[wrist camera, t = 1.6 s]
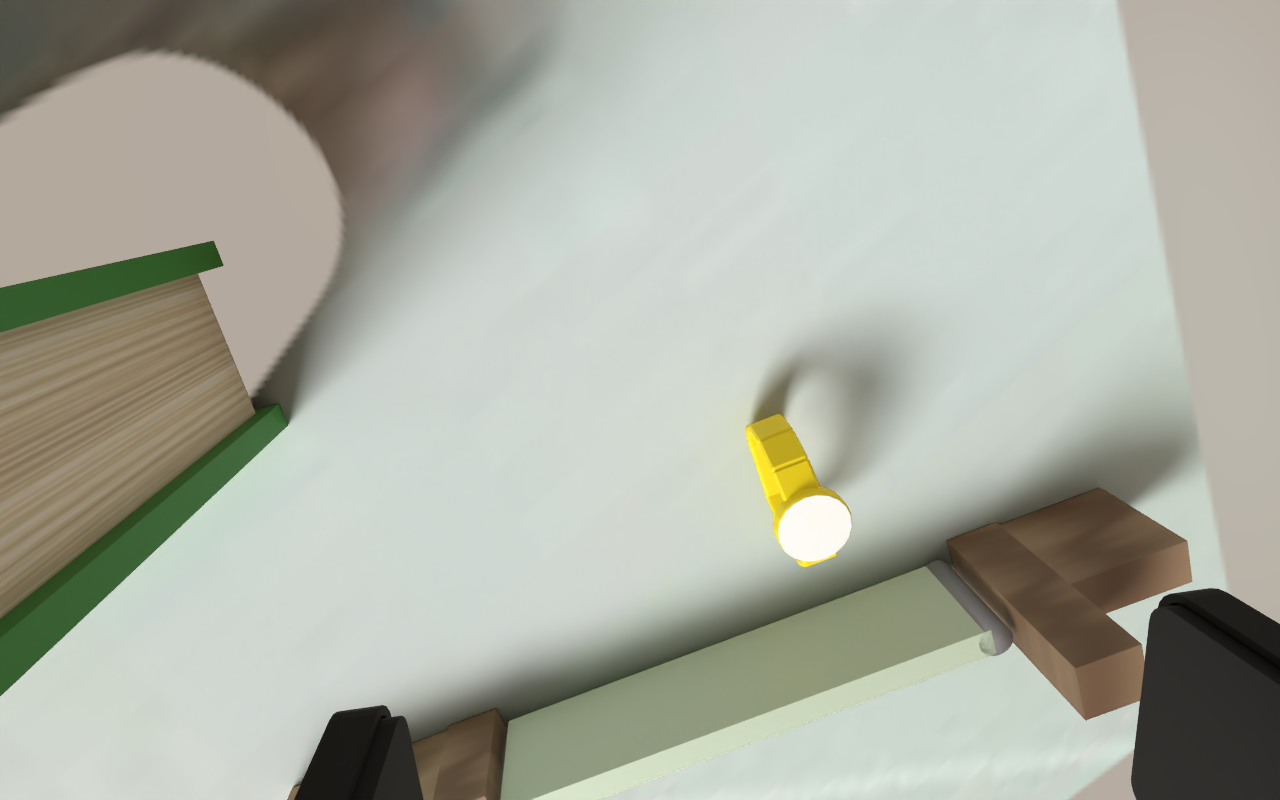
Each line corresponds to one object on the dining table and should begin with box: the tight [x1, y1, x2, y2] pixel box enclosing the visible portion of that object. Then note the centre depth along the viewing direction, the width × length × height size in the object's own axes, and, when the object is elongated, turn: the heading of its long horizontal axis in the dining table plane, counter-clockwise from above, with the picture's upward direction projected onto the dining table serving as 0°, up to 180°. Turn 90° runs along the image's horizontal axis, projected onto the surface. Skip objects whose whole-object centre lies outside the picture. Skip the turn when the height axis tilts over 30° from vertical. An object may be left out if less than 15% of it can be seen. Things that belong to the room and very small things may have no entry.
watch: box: [745, 414, 852, 567], centre depth 29 cm, size 6×3×6 cm, turn 20°
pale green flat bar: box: [500, 560, 1013, 800], centre depth 32 cm, size 22×2×5 cm, turn 110°
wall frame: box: [287, 488, 1192, 800], centre depth 30 cm, size 40×2×9 cm, turn 110°
